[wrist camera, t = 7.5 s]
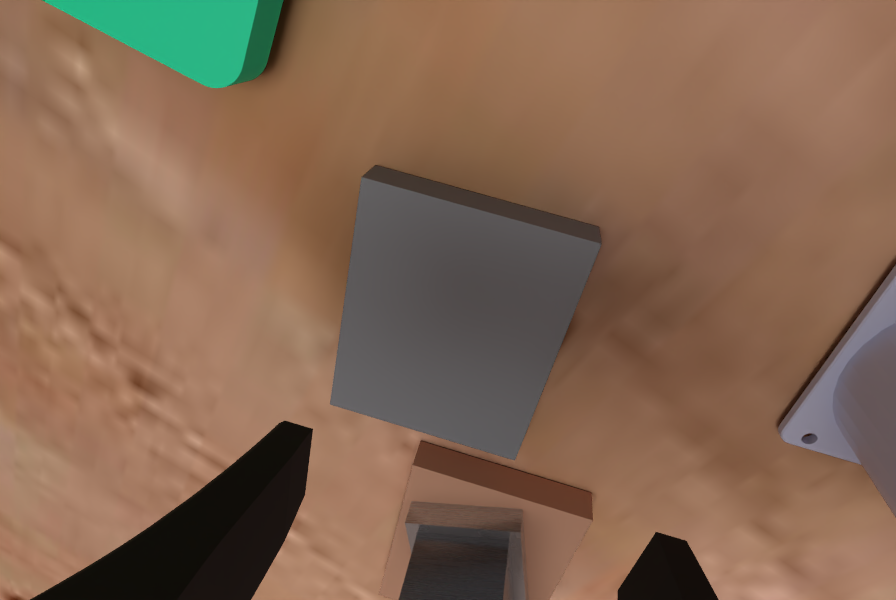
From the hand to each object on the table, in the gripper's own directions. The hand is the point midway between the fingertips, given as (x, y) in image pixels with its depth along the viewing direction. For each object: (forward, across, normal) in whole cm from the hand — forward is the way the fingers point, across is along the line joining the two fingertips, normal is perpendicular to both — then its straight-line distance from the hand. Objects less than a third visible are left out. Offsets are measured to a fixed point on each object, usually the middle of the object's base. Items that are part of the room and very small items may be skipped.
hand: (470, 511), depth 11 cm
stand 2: (+10, -2, +14) cm, 18 cm away
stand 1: (+10, +2, +2) cm, 11 cm away
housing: (+9, -2, +14) cm, 16 cm away
